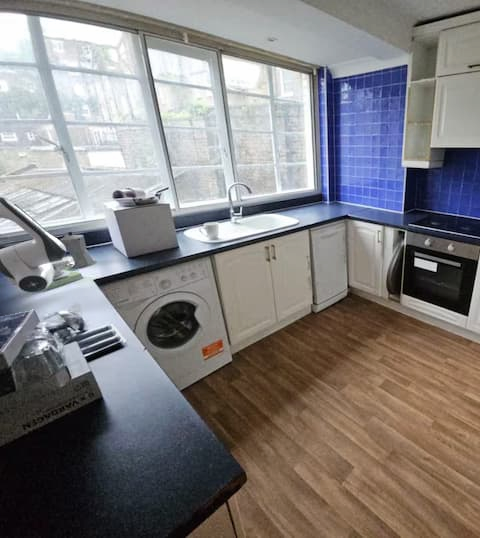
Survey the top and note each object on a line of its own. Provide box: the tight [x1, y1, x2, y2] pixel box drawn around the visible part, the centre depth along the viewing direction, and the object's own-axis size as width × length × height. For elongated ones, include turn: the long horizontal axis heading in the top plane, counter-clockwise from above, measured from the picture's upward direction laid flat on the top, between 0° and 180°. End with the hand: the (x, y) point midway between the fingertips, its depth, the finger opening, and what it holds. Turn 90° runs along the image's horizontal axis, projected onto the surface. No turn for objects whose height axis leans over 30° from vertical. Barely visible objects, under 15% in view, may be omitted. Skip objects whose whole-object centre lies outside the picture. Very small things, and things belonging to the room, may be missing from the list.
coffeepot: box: [60, 231, 95, 269], centre depth 153 cm, size 15×9×18 cm, turn 67°
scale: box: [43, 269, 83, 292], centre depth 136 cm, size 14×14×3 cm
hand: (43, 262), depth 128 cm, fingers open, 8 cm apart
